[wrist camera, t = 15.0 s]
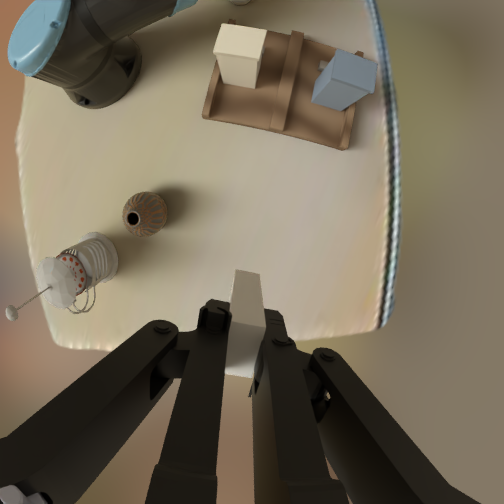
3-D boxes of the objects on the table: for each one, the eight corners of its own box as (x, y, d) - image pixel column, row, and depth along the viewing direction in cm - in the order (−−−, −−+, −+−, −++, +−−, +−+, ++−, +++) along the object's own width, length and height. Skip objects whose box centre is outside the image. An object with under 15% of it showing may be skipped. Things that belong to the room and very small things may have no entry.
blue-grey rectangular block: (341, 112, 40) (373, 92, 28) (309, 103, 40) (332, 77, 27) (345, 89, 39) (377, 63, 27) (314, 79, 39) (337, 48, 26)
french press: (109, 226, 46) (14, 269, 22) (128, 287, 49) (55, 364, 25) (69, 238, 46) (-24, 283, 22) (88, 295, 49) (12, 363, 25)
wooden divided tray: (341, 150, 43) (349, 148, 40) (203, 118, 42) (200, 114, 38) (357, 60, 39) (364, 53, 36) (229, 28, 37) (227, 18, 34)
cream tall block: (255, 90, 39) (259, 58, 27) (221, 84, 39) (212, 51, 26) (261, 66, 38) (266, 30, 26) (228, 61, 38) (222, 23, 25)
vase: (129, 197, 45) (106, 202, 36) (166, 185, 44) (148, 187, 36) (140, 235, 46) (119, 248, 38) (176, 225, 46) (161, 236, 38)
